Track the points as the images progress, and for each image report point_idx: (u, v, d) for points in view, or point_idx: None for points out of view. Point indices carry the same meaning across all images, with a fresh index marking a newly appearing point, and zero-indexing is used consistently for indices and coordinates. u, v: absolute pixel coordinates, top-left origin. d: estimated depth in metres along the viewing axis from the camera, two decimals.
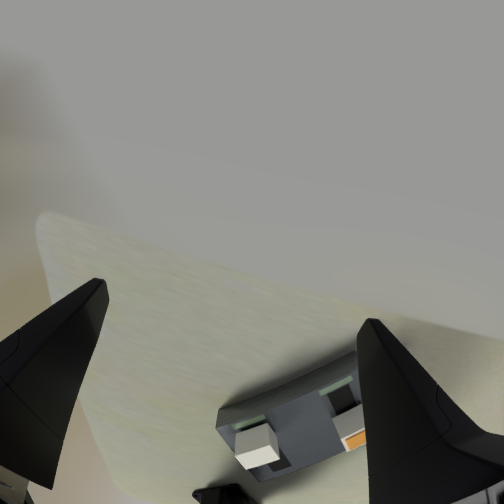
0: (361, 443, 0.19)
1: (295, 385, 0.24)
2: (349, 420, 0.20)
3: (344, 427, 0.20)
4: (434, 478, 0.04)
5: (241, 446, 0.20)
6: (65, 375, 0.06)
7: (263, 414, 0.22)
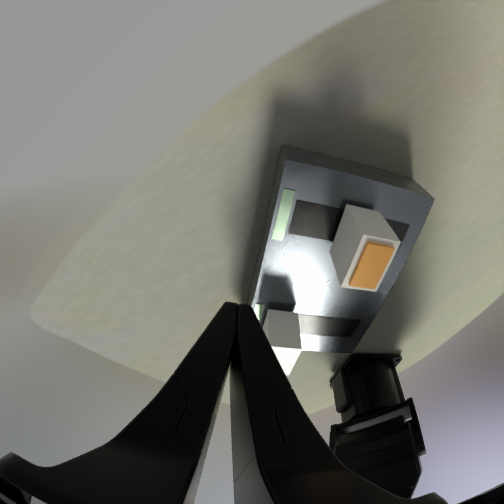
0: (381, 271, 0.13)
1: (262, 243, 0.19)
2: (342, 245, 0.14)
3: (340, 262, 0.14)
4: None
5: None
6: (216, 412, 0.07)
7: (256, 303, 0.19)
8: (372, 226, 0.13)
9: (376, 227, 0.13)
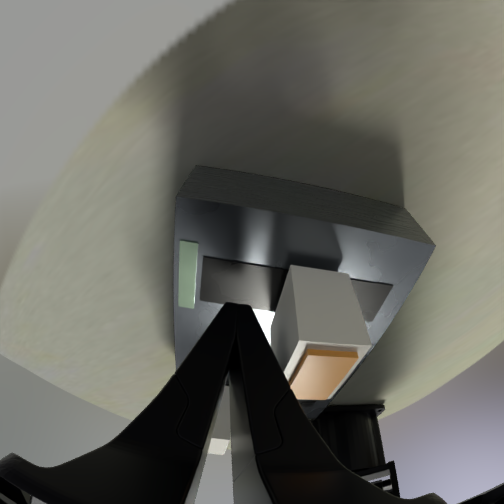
0: (335, 382, 0.08)
1: None
2: (279, 332, 0.09)
3: None
4: None
5: None
6: (217, 412, 0.07)
7: None
8: (324, 314, 0.08)
9: (332, 315, 0.08)
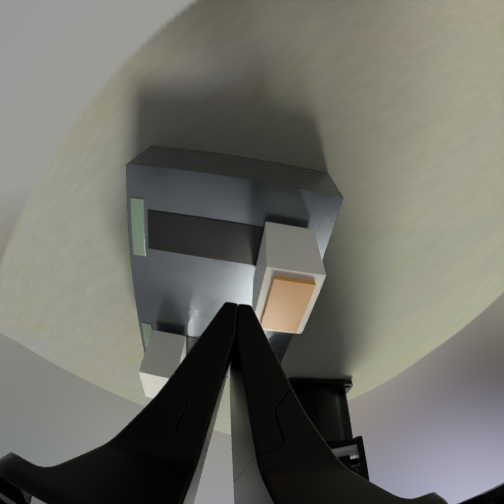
0: (301, 312, 0.10)
1: None
2: (257, 275, 0.12)
3: (254, 295, 0.12)
4: None
5: None
6: (216, 412, 0.07)
7: (142, 322, 0.16)
8: (289, 253, 0.10)
9: (295, 254, 0.10)
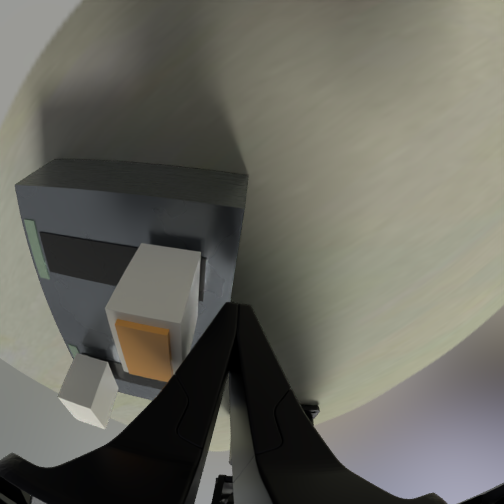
0: (166, 362, 0.07)
1: None
2: None
3: None
4: None
5: None
6: (217, 412, 0.07)
7: (68, 344, 0.13)
8: (145, 288, 0.07)
9: (152, 290, 0.07)
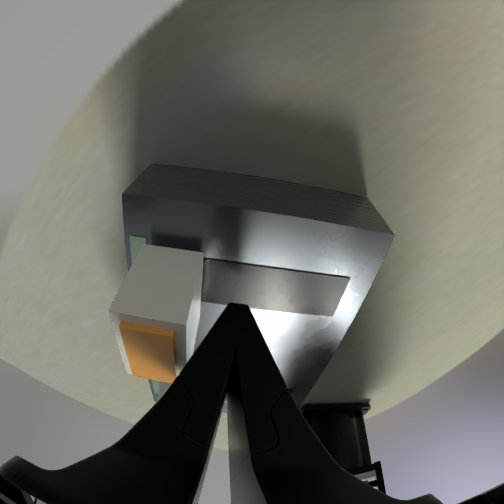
0: (170, 364, 0.07)
1: None
2: None
3: None
4: None
5: None
6: None
7: None
8: (148, 289, 0.07)
9: (156, 291, 0.07)
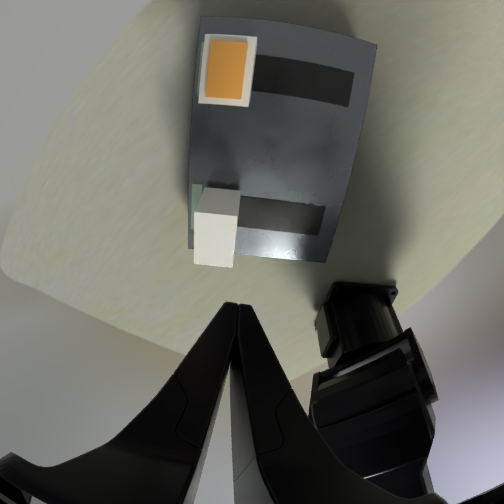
0: (241, 73, 0.10)
1: None
2: None
3: None
4: None
5: None
6: (216, 412, 0.07)
7: (192, 183, 0.16)
8: None
9: None
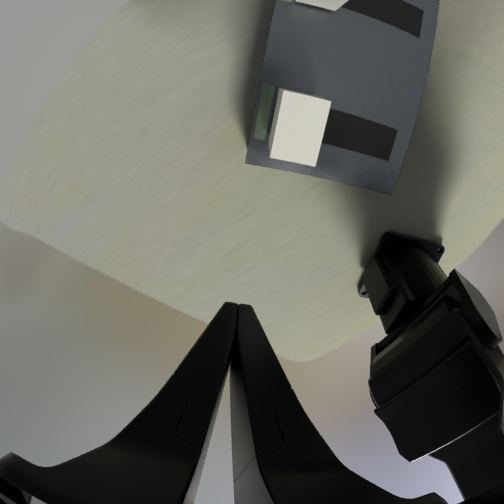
0: None
1: None
2: None
3: None
4: None
5: (271, 140, 0.12)
6: (216, 412, 0.07)
7: (264, 85, 0.13)
8: None
9: None
